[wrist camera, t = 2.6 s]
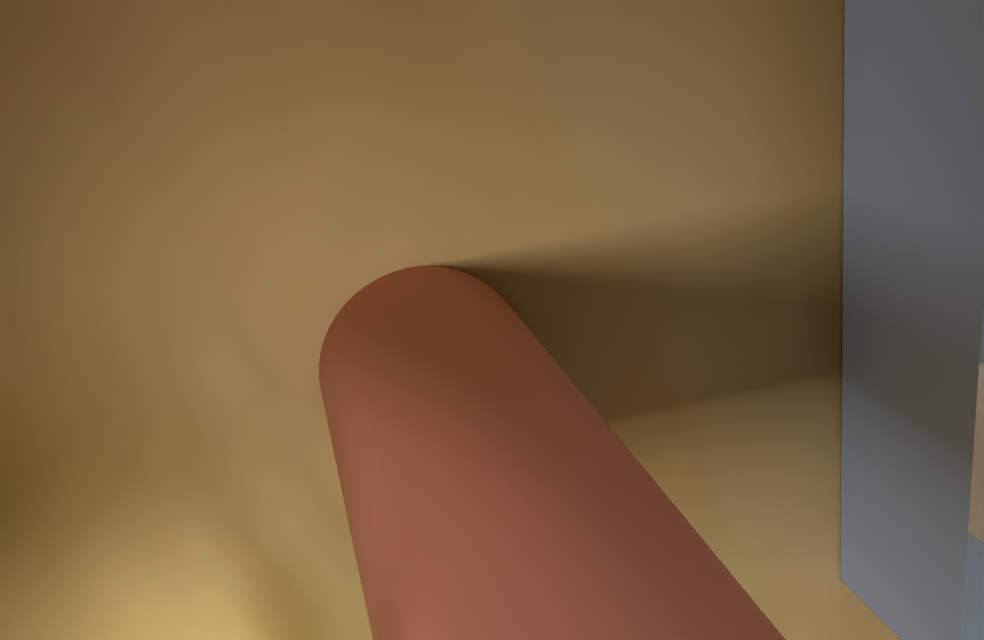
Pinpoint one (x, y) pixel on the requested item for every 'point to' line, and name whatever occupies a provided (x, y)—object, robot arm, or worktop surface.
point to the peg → (501, 484)
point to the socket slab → (912, 312)
